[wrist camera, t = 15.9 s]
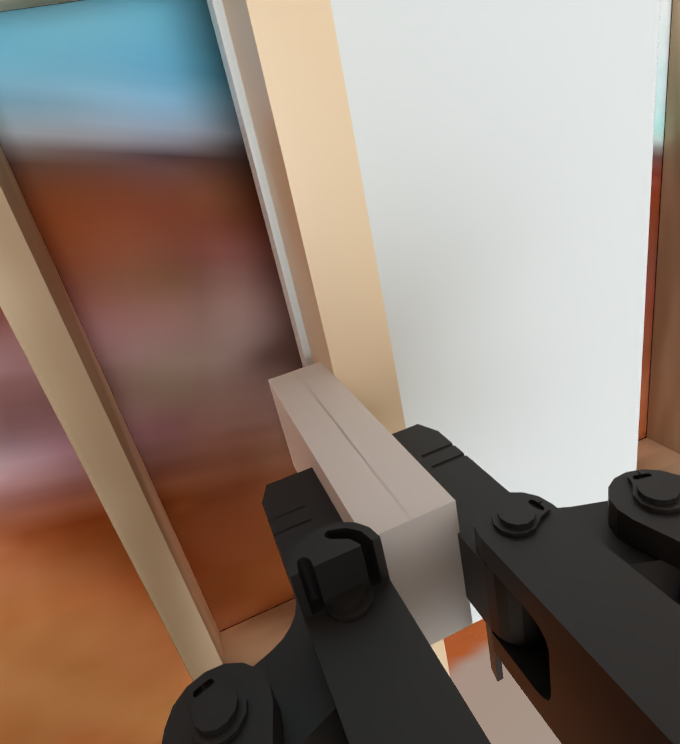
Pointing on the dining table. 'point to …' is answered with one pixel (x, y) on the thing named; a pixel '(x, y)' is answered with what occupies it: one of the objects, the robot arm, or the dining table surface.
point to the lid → (462, 215)
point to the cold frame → (121, 457)
